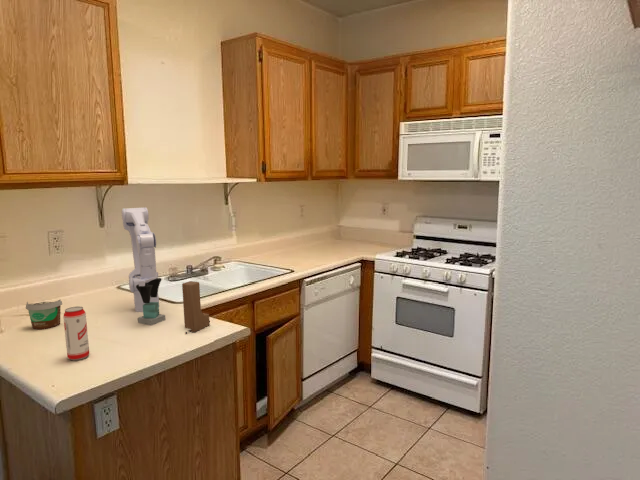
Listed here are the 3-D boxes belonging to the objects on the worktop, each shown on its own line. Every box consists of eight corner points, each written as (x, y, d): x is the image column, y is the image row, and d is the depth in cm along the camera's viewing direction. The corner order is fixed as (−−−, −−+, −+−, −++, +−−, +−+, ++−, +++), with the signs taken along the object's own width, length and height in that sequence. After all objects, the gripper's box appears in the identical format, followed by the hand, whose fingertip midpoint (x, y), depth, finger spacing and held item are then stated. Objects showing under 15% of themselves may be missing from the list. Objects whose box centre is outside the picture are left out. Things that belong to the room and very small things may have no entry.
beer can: (93, 353, 147) (88, 305, 145) (84, 361, 141) (79, 311, 139) (73, 353, 147) (69, 306, 145) (63, 361, 141) (58, 312, 138)
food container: (22, 332, 168) (19, 306, 166) (28, 327, 174) (25, 301, 172) (60, 329, 171) (57, 303, 169) (64, 323, 177) (61, 298, 175)
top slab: (152, 317, 179) (152, 312, 179) (165, 320, 176) (165, 315, 176) (138, 322, 173) (137, 317, 173) (151, 325, 170) (150, 320, 169)
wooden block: (200, 323, 175) (198, 278, 172) (210, 325, 173) (207, 279, 170) (184, 331, 167) (181, 283, 164) (194, 332, 165) (191, 284, 162)
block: (148, 314, 176) (147, 302, 175) (159, 314, 176) (158, 302, 175) (143, 318, 172) (142, 305, 171) (155, 318, 172) (154, 305, 171)
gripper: (144, 261, 178) (147, 294, 180) (129, 269, 164) (132, 305, 166) (162, 261, 178) (164, 294, 180) (148, 269, 164) (151, 305, 166)
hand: (150, 300), depth 173 cm, fingers open, 7 cm apart
